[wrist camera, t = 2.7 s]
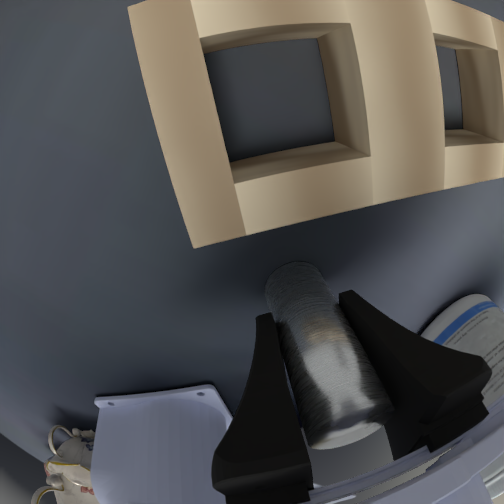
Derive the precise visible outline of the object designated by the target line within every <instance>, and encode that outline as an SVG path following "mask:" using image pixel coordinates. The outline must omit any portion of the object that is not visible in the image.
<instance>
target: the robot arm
mask: <svg viewBox="0 0 504 504" xmlns="http://www.w3.org/2000/svg"><path fill="white" fill-rule="evenodd" d="M339 306H340V307H341V309H342V311H343V313H344V314H345V316H346V318H347V320H348V322H349V323H350V325H351V327H352V329H353V330H354V332H355V334H356V336H357V338H358V340H359V341H360V343H361V345H362V347H363V349H364V351H365V352H366V354H367V356H368V358H369V360H370V362H371V364H372V366H373V367H374V369H375V371H376V373H377V375H378V377H379V379H380V381H381V383H382V385H383V387H384V389H385V390H386V392H387V394H388V396H389V398H390V400H391V402H392V404H393V406H394V409H395V410H394V414H393V415H392V417H391V418H390V419H389V420H388V421H387V422H386V423H385V424H384V427H385V430H386V433H387V436H388V440H389V443H390V447H391V451H392V455H393V459H394V461H393V462H391V463H389V464H386V465H384V466H382V467H379V468H377V469H374V470H372V471H369V472H366V473H364V474H361V475H359V476H356V477H353V478H350V479H347V480H344V481H341V482H338V483H335V484H332V485H328V486H325V487H321V488H318V489H314V487H313V477H312V469H311V462H310V459H309V455H308V452H307V448H306V445H305V442H304V439H303V435H302V432H301V429H300V425H299V422H298V419H297V416H296V412H295V409H294V406H293V402H292V399H291V395H290V392H289V388H288V384H287V378H286V372H285V366H284V361H283V356H282V352H281V348H280V342H279V338H278V333H277V328H276V324H275V321H274V318H273V315H272V312H270V313H266V314H263V315H259V316H257V317H256V342H255V349H254V355H253V360H252V365H251V369H250V374H249V377H248V381H247V384H246V387H245V390H244V393H243V396H242V399H241V401H240V404H239V406H238V409H237V411H236V413H235V415H234V417H232V415H231V413H230V412H229V410H228V408H227V407H226V405H225V403H224V402H223V400H222V398H221V397H220V395H219V393H218V392H217V390H216V388H215V387H214V386H213V385H209V384H207V385H200V386H194V387H188V388H182V389H175V390H168V391H160V392H152V393H143V394H133V395H122V396H108V397H96V398H95V401H94V403H95V404H96V405H97V406H98V407H99V408H100V410H99V415H98V421H97V427H96V433H95V439H94V446H93V453H92V461H91V470H90V476H91V484H92V488H93V491H94V494H95V496H96V498H97V500H98V502H99V503H100V504H325V503H328V502H331V501H335V500H338V499H341V498H344V497H347V496H350V495H353V494H356V493H359V492H361V491H364V490H367V489H369V488H372V487H375V486H377V485H379V484H382V483H384V482H387V481H389V480H391V479H393V478H395V477H398V476H400V475H402V474H404V473H406V472H408V471H411V470H413V469H415V468H417V467H418V466H420V465H422V464H424V463H426V462H428V461H430V460H432V459H433V458H435V457H437V456H439V455H440V454H442V453H443V452H445V451H447V450H449V449H450V448H452V447H454V446H455V445H456V446H455V447H454V448H452V449H451V450H450V451H448V452H447V453H445V454H443V455H442V456H440V457H439V459H438V460H437V461H436V462H435V463H434V464H432V465H431V466H430V467H428V468H427V469H426V472H425V473H423V474H421V475H419V476H417V477H415V478H413V479H411V480H409V481H407V482H405V483H403V484H401V485H399V486H396V487H394V488H392V489H390V490H387V491H385V492H383V493H381V494H378V495H376V496H373V497H371V498H368V499H366V500H364V501H361V502H358V503H356V504H493V502H492V499H491V497H490V495H489V493H488V490H487V488H486V486H485V484H484V482H483V479H482V477H481V475H480V473H479V472H480V471H482V470H483V469H484V468H486V467H487V466H488V465H489V464H491V463H492V462H493V461H494V460H496V459H497V458H498V457H499V456H500V455H502V454H503V453H504V394H503V395H502V396H501V397H500V398H498V399H497V400H496V401H494V402H493V403H492V404H490V405H489V406H488V407H485V405H484V404H483V402H482V401H483V400H484V396H483V395H482V393H481V392H482V390H483V389H484V387H485V386H486V384H487V383H488V381H489V380H490V378H491V376H492V370H491V368H490V367H489V365H488V364H487V363H486V361H485V360H484V359H483V358H482V357H481V356H479V355H474V354H470V353H465V352H461V351H458V350H455V349H451V348H448V347H445V346H443V345H440V344H438V343H435V342H433V341H430V340H428V339H426V338H423V337H421V336H419V335H418V334H416V333H414V332H412V331H410V330H408V329H406V328H405V327H403V326H401V325H400V324H398V323H397V322H395V321H393V320H392V319H390V318H389V317H388V316H386V315H385V314H383V313H382V312H380V311H379V310H378V309H376V308H375V307H374V306H372V305H371V304H370V303H368V302H367V301H366V300H364V299H363V298H362V297H361V296H359V295H358V294H357V293H355V292H354V291H353V290H349V291H346V292H342V293H339Z"/></svg>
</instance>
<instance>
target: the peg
mask: <svg viewBox="0 0 504 504" xmlns="http://www.w3.org/2000/svg"><path fill="white" fill-rule="evenodd" d="M264 292H265V297H266V300H267V304H268V307H269V311H270V312H272V315H273V318H274V321H275V324H276V328H277V333H278V338H279V342H280V348H281V352H282V356H283V359H284V363H285V366H286V369H287V373H288V376H289V380H290V383H291V387H292V390H293V394H294V397H295V401H296V404H297V408H298V411H299V415H300V418H301V421H302V425H303V428H304V431H305V435H306V439H307V442H308V445H309V446H310V447H311V448H314V449H331V448H336V447H340V446H343V445H347V444H350V443H353V442H355V441H357V440H360V439H362V438H364V437H366V436H368V435H369V434H371V433H373V432H374V431H376V430H378V429H379V428H380V427H382V426H383V425H384V424H385V423H386V422H387V421H388V420H389V419H390V418H391V417H392V415H393V414H394V410H395V409H394V406H393V404H392V402H391V400H390V398H389V396H388V394H387V392H386V390H385V389H384V387H383V385H382V383H381V381H380V379H379V377H378V375H377V373H376V371H375V369H374V367H373V366H372V364H371V362H370V360H369V358H368V356H367V354H366V352H365V351H364V349H363V347H362V345H361V343H360V341H359V340H358V338H357V336H356V334H355V332H354V330H353V329H352V327H351V325H350V323H349V322H348V320H347V318H346V316H345V314H344V313H343V311H342V309H341V307H340V306H339V304H338V302H337V300H336V299H335V297H334V295H333V293H332V292H331V290H330V288H329V287H328V285H327V283H326V281H325V280H324V278H323V276H322V275H321V273H320V271H319V270H318V269H317V268H316V267H315V266H314V265H312V264H310V263H307V262H299V261H298V262H291V263H287V264H285V265H283V266H281V267H279V268H278V269H276V270H275V271H274V272H273V273H272V274H271V275H270V276H269V278H268V280H267V282H266V284H265V291H264Z"/></svg>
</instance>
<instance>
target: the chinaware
mask: <svg viewBox="0 0 504 504" xmlns="http://www.w3.org/2000/svg"><path fill="white" fill-rule="evenodd" d="M57 428H62V429H63V430H65V431H66V432H67V433H68V434H69V435H70V436H71V437H73V438H71V439H68V440H66V441H65V442H64V443H62V444H61V446H60V447H59V448H58V449H57V452H56V450H55V448H54V444H53V433H54V431H55V430H56V429H57ZM72 433H73V435H72V434H71V433H70V432H69V430H68V429H67V428H65V427H64V426H62V425H55V426H53V427H52V428H51V430H50V432H49V436H48V441H49V446H50V449H51V450H52V452H53V453H54V454H55V455H54V456H53V457H51V458H49V459H47V460H46V461H45V463H44V467H45V471H46V473H47V476H48V477H47V479H46V482H47V483H48V484H49V485H52V487H50V486H45V487H42V488H40V489H38V490H37V491H36V492H35V494H34V495H33V497H32V501H31V504H39V500H40V498H41V496H42V495H43V494H44V493H45V492H47V491H54V492H55V496H56V500H57V504H100V503H99V502H98V500H97V498H96V496H95V494H94V491H93V488H92V484H91V476H90V470H91V461H92V453H93V446H94V439H95V432H93V431H92V430H90V431H80V430H79V429H77V428H73V429H72ZM80 435H82V436H80ZM78 436H79V437H78Z"/></svg>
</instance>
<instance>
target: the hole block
mask: <svg viewBox="0 0 504 504" xmlns="http://www.w3.org/2000/svg"><path fill="white" fill-rule="evenodd" d="M128 13H129V18H130V23H131V27H132V32H133V37H134V41H135V46H136V50H137V55H138V59H139V63H140V68H141V72H142V76H143V80H144V84H145V88H146V92H147V96H148V100H149V104H150V107H151V111H152V115H153V119H154V122H155V126H156V129H157V133H158V137H159V140H160V144H161V147H162V151H163V154H164V157H165V161H166V164H167V168H168V171H169V174H170V177H171V181H172V184H173V187H174V190H175V194H176V197H177V200H178V203H179V206H180V209H181V212H182V215H183V218H184V221H185V224H186V227H187V230H188V233H189V236H190V239H191V242H192V245H193V248H194V249H195V248H198V247H202V246H206V245H210V244H214V243H218V242H222V241H226V240H230V239H234V238H238V237H242V236H246V235H250V234H254V233H258V232H262V231H266V230H270V229H274V228H278V227H282V226H287V225H291V224H295V223H299V222H303V221H307V220H312V219H316V218H320V217H324V216H328V215H333V214H337V213H341V212H345V211H350V210H354V209H358V208H363V207H367V206H372V205H376V204H380V203H385V202H389V201H394V200H398V199H403V198H407V197H412V196H416V195H421V194H425V193H430V192H435V191H439V190H444V189H449V188H453V187H458V186H463V185H468V184H473V183H477V182H482V181H487V180H492V179H497V178H502V177H504V22H502V21H500V20H498V19H496V18H494V17H491V16H489V15H487V14H485V13H482V12H480V11H478V10H475V9H473V8H470V7H468V6H465V5H462V4H460V3H457V2H454V1H451V0H147V1H144V2H141V3H138V4H135V5H132V6H129V7H128ZM309 38H317V41H318V45H319V50H320V54H321V59H322V64H323V69H324V74H325V80H326V85H327V91H328V97H329V103H330V109H331V116H332V123H333V130H334V137H335V142H329V143H322V144H316V145H311V146H305V147H300V148H294V149H289V150H284V151H279V152H274V153H269V154H265V155H260V156H255V157H251V158H246V159H242V160H238V161H234V162H230V163H229V160H228V156H227V152H226V148H225V143H224V139H223V135H222V131H221V127H220V122H219V118H218V114H217V110H216V106H215V101H214V97H213V93H212V89H211V85H210V81H209V76H208V72H207V68H206V64H205V60H204V55H203V54H205V53H210V52H214V51H219V50H224V49H229V48H234V47H240V46H246V45H252V44H259V43H266V42H274V41H284V40H295V39H309ZM435 45H437V46H442V47H447V48H452V49H455V50H456V56H457V63H458V70H459V78H460V87H461V98H462V112H463V129H458V130H445V129H444V110H443V98H442V88H441V79H440V71H439V65H438V58H437V52H436V47H435Z"/></svg>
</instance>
